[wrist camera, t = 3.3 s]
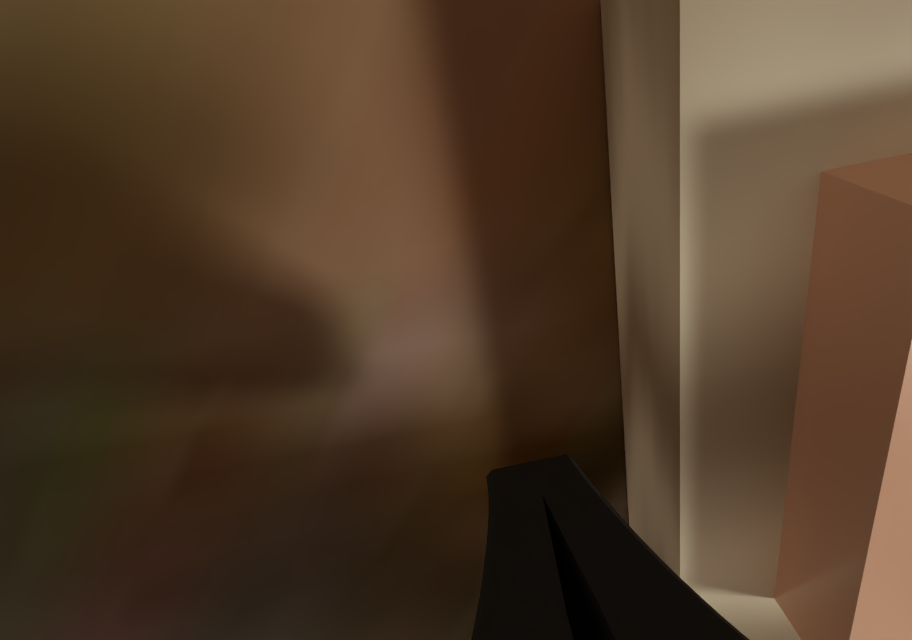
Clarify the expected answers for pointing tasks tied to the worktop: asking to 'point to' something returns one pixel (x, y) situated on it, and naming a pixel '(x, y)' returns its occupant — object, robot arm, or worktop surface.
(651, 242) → the tan tray
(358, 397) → the worktop surface
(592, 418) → the worktop surface
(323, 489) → the worktop surface
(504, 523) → the robot arm
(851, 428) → the tile
